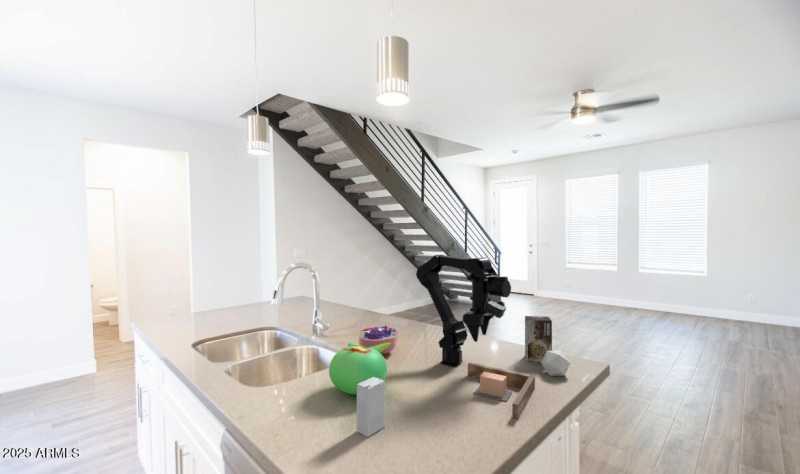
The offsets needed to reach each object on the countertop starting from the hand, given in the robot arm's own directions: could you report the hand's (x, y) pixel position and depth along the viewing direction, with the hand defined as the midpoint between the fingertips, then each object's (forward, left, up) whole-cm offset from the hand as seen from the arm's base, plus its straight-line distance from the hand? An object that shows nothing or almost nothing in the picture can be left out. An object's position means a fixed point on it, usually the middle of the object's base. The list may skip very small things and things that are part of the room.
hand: (480, 338), depth 127 cm
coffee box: (+15, +24, -12) cm, 31 cm away
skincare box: (-11, -50, -12) cm, 53 cm away
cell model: (-42, -2, -12) cm, 44 cm away
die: (+23, +12, -12) cm, 29 cm away
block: (+9, -14, -12) cm, 20 cm away
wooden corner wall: (+8, -15, -12) cm, 21 cm away
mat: (+9, -14, -12) cm, 21 cm away
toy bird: (-27, -34, -12) cm, 45 cm away
